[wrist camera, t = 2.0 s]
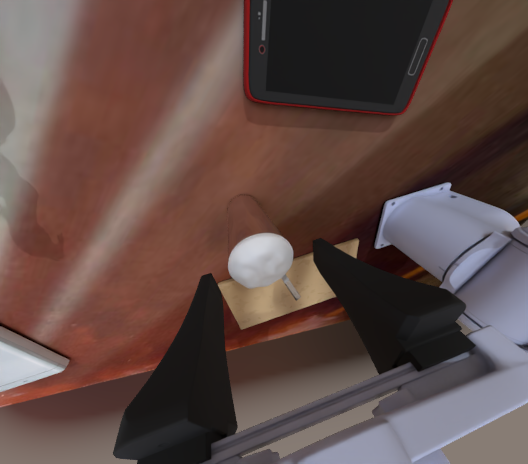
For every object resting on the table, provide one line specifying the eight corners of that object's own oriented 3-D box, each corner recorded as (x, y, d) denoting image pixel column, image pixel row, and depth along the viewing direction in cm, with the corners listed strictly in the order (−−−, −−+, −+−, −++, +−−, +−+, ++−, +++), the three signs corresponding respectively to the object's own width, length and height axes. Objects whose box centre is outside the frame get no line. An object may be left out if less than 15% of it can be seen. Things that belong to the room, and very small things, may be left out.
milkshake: (249, 238, 21) (275, 317, 13) (211, 211, 18) (214, 294, 10) (277, 210, 20) (324, 279, 12) (242, 178, 17) (272, 241, 9)
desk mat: (356, 237, 26) (359, 240, 26) (348, 289, 33) (350, 291, 33) (217, 282, 24) (218, 285, 24) (240, 326, 31) (241, 329, 31)
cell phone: (397, 116, 18) (406, 116, 17) (242, 102, 14) (244, 101, 13) (447, -11, 13) (462, -18, 13) (243, -79, 10) (246, -94, 9)
